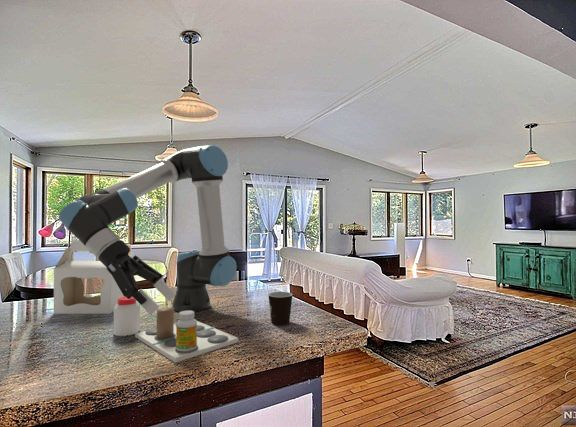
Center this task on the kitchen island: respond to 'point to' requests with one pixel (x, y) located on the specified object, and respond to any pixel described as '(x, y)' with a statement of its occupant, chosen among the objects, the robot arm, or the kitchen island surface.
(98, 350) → the kitchen island surface
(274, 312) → the coffee mug
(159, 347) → the board
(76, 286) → the gable box
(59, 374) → the kitchen island surface
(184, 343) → the supplement bottle
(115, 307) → the pill bottle
